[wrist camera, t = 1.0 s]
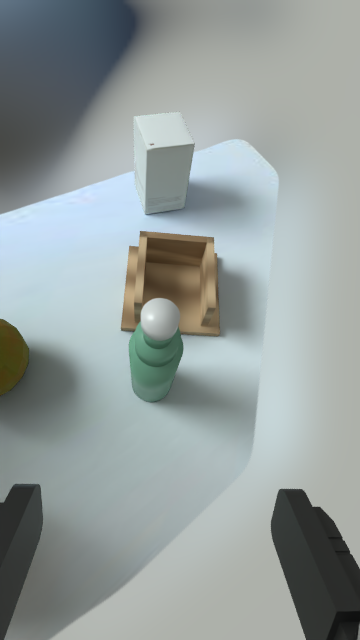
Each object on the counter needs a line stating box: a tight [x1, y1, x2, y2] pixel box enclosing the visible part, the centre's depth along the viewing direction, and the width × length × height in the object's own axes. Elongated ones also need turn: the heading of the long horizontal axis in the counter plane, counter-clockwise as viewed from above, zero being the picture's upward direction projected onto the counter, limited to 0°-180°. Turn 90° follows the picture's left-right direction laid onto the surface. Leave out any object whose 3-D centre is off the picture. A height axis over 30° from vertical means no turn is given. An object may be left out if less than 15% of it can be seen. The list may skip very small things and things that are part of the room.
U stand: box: [121, 231, 220, 336], centre depth 47 cm, size 14×14×7 cm
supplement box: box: [134, 112, 195, 214], centre depth 52 cm, size 7×7×13 cm
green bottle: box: [129, 298, 183, 402], centre depth 34 cm, size 5×5×21 cm
